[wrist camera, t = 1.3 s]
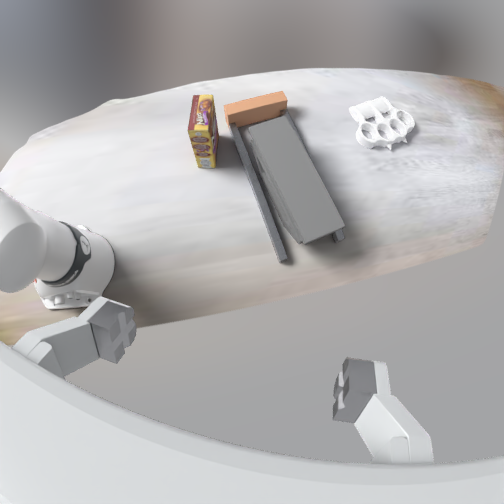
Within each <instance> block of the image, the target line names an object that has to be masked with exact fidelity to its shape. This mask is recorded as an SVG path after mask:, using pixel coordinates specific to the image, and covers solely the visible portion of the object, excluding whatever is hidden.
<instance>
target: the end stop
mask: <svg viewBox="0 0 504 504" xmlns="http://www.w3.org/2000/svg"><path fill="white" fill-rule="evenodd" d="M286 107H287V98H286V96H285V94H284V93H283V91H280V92H275V93H271V94H267V95H262V96H258V97H254V98H250V99H246V100H242V101H239V102H235V103H231V104H228V105H224V111H225V118H226V122H227V125H228V127H229V124H231V123H234V122H235V123H236V126H237V128H238V127H241V126H245V125H249V124H252V123H256V122H260V121H264V120H267V119H271V118H275V117H279V116H280V110H284V109H286Z"/></svg>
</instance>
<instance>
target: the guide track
mask: <svg viewBox="0 0 504 504" xmlns="http://www.w3.org/2000/svg"><path fill="white" fill-rule="evenodd" d="M282 116H286V118H287V120H288V121H289V123H290V125H291V126H292V128H293V130H294V131H295V133H296V135H297V136H298V138H299V140H300V142H301V143H302V145H303V147H304V149H305V150H306V148H305V146H304V144H303V142H302V139H301V137H300V135H299V133H298V131H297V129H296V127H295V125H294V123H293V121H292V119H291V117H290V115H289V113H288V111H287V110H286V109H284V110H280V117H282ZM229 130H230V132H231V135H232V138H233V140H234V143H235V145H236V148H237V151H238V153H239V156H240V158H241V161H242V164H243V166H244V169H245V171H246V174H247V177H248V179H249V182H250V185H251V187H252V190H253V193H254V195H255V198H256V201H257V203H258V206H259V209H260V211H261V214H262V217H263V219H264V222H265V225H266V228H267V230H268V233H269V236H270V238H271V241H272V244H273V247H274V249H275V252H276V255H277V258H278V260H279V263H280V262H283V261H286V260H287V255H286V252H285V250H284V247H283V244H282V241H281V239H280V236H279V233H278V231H277V228H276V225H275V223H274V220H273V217H272V215H271V212H270V210H269V207H268V204H267V202H266V199H265V196H264V194H263V191H262V189H261V186H260V184H259V181H258V178H257V176H256V173H255V171H254V168H253V166H252V163H251V161H250V158H249V156H248V153H247V151H246V148H245V145H244V143H243V141H242V138H241V136H240V133H239V131H238V128H237V126H236V123H235V122H234V123H231V124H229ZM306 152H307V150H306ZM307 154H308V152H307ZM308 156H309V154H308ZM309 158H310V156H309ZM310 159H311V158H310ZM311 161H312V160H311ZM332 236H333V238H334V241H335V243H337V242H340V241H342V240H343V239H344V238H345V237H344V234H343V232H342V229H340V230H338V231H336V232H333V233H332Z"/></svg>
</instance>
